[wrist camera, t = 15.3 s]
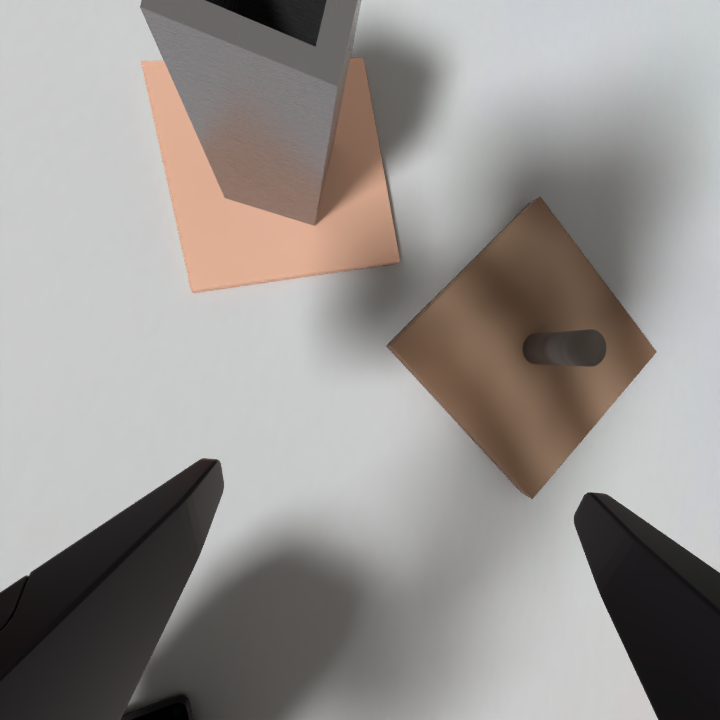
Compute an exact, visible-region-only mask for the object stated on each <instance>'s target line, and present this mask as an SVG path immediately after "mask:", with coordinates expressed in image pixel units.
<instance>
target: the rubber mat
mask: <svg viewBox="0 0 720 720" xmlns="http://www.w3.org/2000/svg"><path fill="white" fill-rule="evenodd" d="M141 63H142V68H143V72H144V77H145V82H146V86H147V91H148V95H149V100H150V105H151V109H152V114H153V118H154V123H155V127H156V132H157V137H158V141H159V146H160V150H161V155H162V160H163V164H164V169H165V173H166V178H167V183H168V187H169V192H170V196H171V201H172V205H173V210H174V215H175V219H176V224H177V228H178V233H179V238H180V242H181V247H182V251H183V256H184V261H185V265H186V270H187V274H188V279H189V283H190V288H191V291H192V292H193V293H197V292H204V291H211V290H218V289H225V288H232V287H238V286H245V285H252V284H259V283H266V282H273V281H280V280H286V279H293V278H300V277H307V276H314V275H321V274H328V273H334V272H341V271H348V270H355V269H362V268H369V267H376V266H382V265H389V264H396V263H398V262H400V258H399V253H398V247H397V241H396V236H395V230H394V225H393V219H392V214H391V208H390V203H389V197H388V191H387V186H386V180H385V175H384V169H383V164H382V158H381V152H380V147H379V141H378V136H377V130H376V125H375V119H374V114H373V108H372V102H371V97H370V91H369V86H368V80H367V75H366V69H365V64H364V58H350V62H349V67H348V72H347V77H346V82H345V88H344V93H343V98H342V103H341V109H340V114H339V119H338V124H337V129H336V135H335V140H334V145H333V149H332V153H331V158H330V162H329V166H328V170H327V175H326V179H325V183H324V188H323V192H322V196H321V201H320V205H319V209H318V213H317V218H316V222H315V226H313V225H310V224H307V223H304V222H300V221H297V220H294V219H291V218H287V217H284V216H281V215H278V214H274V213H271V212H268V211H265V210H262V209H258V208H255V207H252V206H249V205H245V204H242V203H239V202H236V201H232V200H229V199H226V198H224V195H223V193H222V191H221V189H220V186H219V184H218V182H217V180H216V177H215V175H214V173H213V170H212V168H211V166H210V164H209V161H208V159H207V157H206V155H205V152H204V150H203V148H202V146H201V143H200V141H199V139H198V137H197V134H196V132H195V130H194V128H193V125H192V123H191V121H190V119H189V116H188V114H187V112H186V109H185V107H184V105H183V103H182V100H181V98H180V96H179V94H178V91H177V89H176V87H175V85H174V82H173V80H172V78H171V76H170V73H169V71H168V69H167V67H166V64H165V62H164V61H141Z"/></svg>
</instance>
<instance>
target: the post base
mask: <svg viewBox="0 0 720 720" xmlns="http://www.w3.org/2000/svg"><path fill="white" fill-rule="evenodd" d="M387 347H388V348H389V349H390V350H391V352H392V353H393V354H394V355H395V356H396V357H397V358H398V359H399V360H400V361H401V362H402V363H403V365H404V366H405V367H406V368H407V369H408V370H409V371H410V372H411V373H412V374H413V375H414V376H415V378H416V379H417V380H418V381H419V382H420V383H421V384H422V385H423V386H424V387H425V388H426V389H427V391H428V392H429V393H430V394H431V395H432V396H433V397H434V398H435V399H436V400H437V401H438V402H439V404H440V405H441V406H442V407H443V408H444V409H445V410H446V411H447V412H448V413H449V414H450V415H451V417H452V418H453V419H454V420H455V421H456V422H457V423H458V424H459V425H460V426H461V427H462V428H463V430H464V431H465V432H466V433H467V434H468V435H469V436H470V437H471V438H472V439H473V440H474V441H475V443H476V444H477V445H478V446H479V447H480V448H481V449H482V450H483V451H484V452H485V453H486V454H487V456H488V457H489V458H490V459H491V460H492V461H493V462H494V463H495V464H496V465H497V466H498V467H499V469H500V470H501V471H502V472H503V473H504V474H505V475H506V476H507V477H508V478H509V479H510V480H511V482H512V483H513V484H514V485H515V486H516V487H517V488H518V489H519V490H520V491H521V492H522V493H523V494H525V495H526V496H528V497H530V498H531V499H533V498H534V497H535V495H536V494H537V493H538V492H539V491H540V489H541V488H542V487H543V486H544V485H545V484H546V482H547V481H548V480H549V479H550V478H551V476H552V475H553V474H554V473H555V472H556V471H557V469H558V468H559V467H560V466H561V465H562V463H563V462H564V461H565V460H566V459H567V457H568V456H569V455H570V454H571V453H572V452H573V450H574V449H575V448H576V447H577V446H578V444H579V443H580V442H581V441H582V440H583V439H584V437H585V436H586V435H587V434H588V433H589V431H590V430H591V429H592V428H593V427H594V426H595V424H596V423H597V422H598V421H599V420H600V418H601V417H602V416H603V415H604V414H605V412H606V411H607V410H608V409H609V408H610V407H611V405H612V404H613V403H614V402H615V401H616V399H617V398H618V397H619V396H620V395H621V394H622V392H623V391H624V390H625V389H626V388H627V386H628V385H629V384H630V383H631V382H632V380H633V379H634V378H635V377H636V376H637V375H638V373H639V372H640V371H641V370H642V369H643V367H644V366H645V365H646V364H647V363H648V362H649V360H650V359H651V358H652V357H653V356H654V354H655V353H656V350H655V349H654V348H653V346H652V345H651V344H650V342H649V341H648V340H647V338H646V337H645V336H644V334H643V333H642V332H641V330H640V329H639V328H638V326H637V325H636V324H635V322H634V321H633V320H632V318H631V317H630V316H629V314H628V313H627V312H626V310H625V309H624V308H623V306H622V305H621V304H620V302H619V301H618V300H617V298H616V297H615V296H614V294H613V293H612V292H611V290H610V289H609V288H608V286H607V285H606V284H605V282H604V281H603V280H602V278H601V277H600V276H599V274H598V273H597V272H596V270H595V269H594V268H593V266H592V265H591V264H590V262H589V261H588V260H587V258H586V257H585V256H584V254H583V253H582V252H581V250H580V249H579V248H578V246H577V245H576V244H575V242H574V241H573V240H572V238H571V237H570V236H569V234H568V233H567V232H566V230H565V229H564V228H563V226H562V225H561V224H560V222H559V221H558V220H557V218H556V217H555V216H554V214H553V213H552V212H551V210H550V209H549V208H548V206H547V205H546V204H545V202H544V201H543V200H542V198H541V197H539V198H537V199H536V200H534V201H533V202H531V203H530V204H528V205H527V206H526V207H525V208H524V209H523V210H522V211H521V212H520V213H519V214H518V215H517V216H516V217H515V218H514V219H513V220H512V221H511V222H510V223H509V224H508V225H507V226H506V227H505V228H504V229H503V230H502V231H501V232H500V233H499V234H498V235H497V236H496V237H495V238H494V239H493V240H492V241H491V242H490V243H489V244H488V245H487V246H486V247H485V248H484V249H483V250H482V251H481V252H480V253H479V254H478V255H477V256H476V257H475V258H474V259H473V260H472V261H471V262H470V263H469V264H468V265H467V266H466V267H465V268H464V269H463V270H462V271H461V272H460V273H459V274H458V275H457V276H456V277H455V278H454V279H453V280H452V281H451V282H450V283H449V284H448V285H447V286H446V287H445V288H444V289H443V290H442V291H441V292H440V293H439V294H438V295H437V296H436V297H435V298H434V299H433V300H432V301H431V302H430V303H429V304H428V305H427V306H426V307H425V308H424V309H423V310H422V311H421V312H420V313H419V314H418V315H417V316H416V317H415V318H414V319H413V320H412V321H411V322H410V323H409V324H408V325H407V326H406V327H405V328H404V329H403V330H402V331H401V332H400V333H399V334H398V335H397V336H396V337H395V338H394V339H393V340H392V341H391V342H390V343H389V344H388V345H387Z"/></svg>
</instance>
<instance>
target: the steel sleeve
mask: <svg viewBox="0 0 720 720" xmlns="http://www.w3.org/2000/svg"><path fill="white" fill-rule="evenodd" d="M360 4H361V0H142V2H141V6H140V8H141V10H142V12H143V15H144V17H145V19H146V21H147V24H148V26H149V28H150V30H151V33H152V35H153V37H154V39H155V42H156V44H157V46H158V48H159V51H160V53H161V55H162V57H163V60H164V62H165V64H166V67H167V69H168V71H169V73H170V76H171V78H172V80H173V82H174V85H175V87H176V89H177V91H178V94H179V96H180V98H181V100H182V103H183V105H184V107H185V109H186V112H187V114H188V116H189V119H190V121H191V123H192V125H193V128H194V130H195V132H196V134H197V137H198V139H199V141H200V143H201V146H202V148H203V150H204V152H205V155H206V157H207V159H208V161H209V164H210V166H211V168H212V170H213V173H214V175H215V177H216V180H217V182H218V184H219V186H220V189H221V191H222V193H223V195H224V198H226V199H229V200H232V201H236V202H239V203H242V204H245V205H249V206H252V207H255V208H258V209H262V210H265V211H268V212H271V213H274V214H278V215H281V216H284V217H287V218H291V219H294V220H297V221H300V222H304V223H307V224H310V225H313V226H315V222H316V218H317V213H318V209H319V205H320V201H321V196H322V192H323V188H324V183H325V179H326V175H327V170H328V166H329V162H330V158H331V153H332V149H333V145H334V140H335V135H336V129H337V124H338V119H339V114H340V109H341V103H342V98H343V93H344V88H345V82H346V77H347V72H348V67H349V62H350V56H351V51H352V46H353V41H354V36H355V30H356V25H357V20H358V15H359V9H360Z"/></svg>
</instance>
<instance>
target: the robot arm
mask: <svg viewBox="0 0 720 720" xmlns="http://www.w3.org/2000/svg"><path fill="white" fill-rule="evenodd" d="M223 489H224V480H223V474H222V468H221V463H220V461H219V460H217V459H207V458H203V459H200V460H199V461H197V462H196V463H194V464H193V465H191V466H190V467H188V468H187V469H185V470H184V471H182V472H181V473H179V474H178V475H176V476H175V477H173V478H172V479H170V480H169V481H167V482H166V483H164V484H163V485H161V486H160V487H158V488H157V489H155V490H154V491H152V492H151V493H149V494H148V495H146V496H145V497H143V498H142V499H140V500H138V501H137V502H135V503H134V504H132V505H131V506H129V507H128V508H126V509H125V510H123V511H122V512H120V513H119V514H117V515H116V516H114V517H113V518H111V519H110V520H108V521H107V522H105V523H104V524H102V525H101V526H99V527H98V528H96V529H95V530H93V531H92V532H90V533H89V534H87V535H86V536H84V537H83V538H81V539H80V540H78V541H77V542H75V543H74V544H72V545H71V546H69V547H68V548H66V549H65V550H63V551H62V552H60V553H59V554H57V555H56V556H54V557H53V558H51V559H50V560H48V561H47V562H45V563H44V564H42V565H41V566H39V567H38V568H36V569H35V570H33V571H32V572H31V573H30V575H29V576H24V577H23V578H21V579H20V580H18V581H17V582H15V583H14V584H12V585H11V586H9V587H8V588H6V589H5V590H3V591H2V592H0V720H193V716H192V712H191V708H190V704H189V700H188V698H187V697H186V696H184V695H178V696H175V697H172V698H170V699H167V700H164V701H161V702H159V703H156V704H153V705H151V706H148V707H145V708H142V709H140V710H137V711H134V712H132V713H129V714H126V715H123V713H124V711H125V709H126V707H127V705H128V703H129V701H130V699H131V697H132V695H133V693H134V691H135V689H136V686H137V684H138V682H139V680H140V678H141V676H142V674H143V672H144V670H145V668H146V666H147V664H148V662H149V660H150V657H151V655H152V653H153V651H154V649H155V647H156V645H157V643H158V641H159V639H160V637H161V635H162V633H163V631H164V629H165V626H166V624H167V622H168V620H169V618H170V616H171V614H172V612H173V610H174V608H175V606H176V604H177V602H178V600H179V597H180V595H181V593H182V591H183V589H184V587H185V585H186V583H187V581H188V579H189V577H190V575H191V573H192V571H193V568H194V566H195V564H196V562H197V560H198V558H199V555H200V553H201V550H202V548H203V545H204V543H205V540H206V537H207V534H208V532H209V529H210V526H211V523H212V521H213V518H214V515H215V513H216V510H217V507H218V504H219V502H220V499H221V496H222V493H223ZM574 524H575V528H576V530H577V533H578V536H579V539H580V541H581V544H582V547H583V550H584V552H585V555H586V558H587V561H588V563H589V566H590V569H591V572H592V574H593V577H594V580H595V583H596V585H597V588H598V590H599V593H600V595H601V597H602V600H603V602H604V604H605V606H606V609H607V611H608V613H609V615H610V617H611V619H612V621H613V624H614V626H615V628H616V630H617V632H618V634H619V636H620V639H621V641H622V643H623V645H624V647H625V649H626V652H627V654H628V656H629V658H630V660H631V662H632V664H633V667H634V669H635V671H636V673H637V675H638V677H639V679H640V682H641V684H642V686H643V688H644V690H645V692H646V694H647V697H648V699H649V701H650V703H651V705H652V707H653V710H654V712H655V714H656V716H657V718H658V720H720V573H719V572H718V571H716V570H715V569H713V568H712V567H711V566H709V565H708V564H706V563H705V562H703V561H702V560H700V559H699V558H698V557H696V556H695V555H693V554H692V553H690V552H689V551H688V550H686V549H685V548H683V547H682V546H680V545H679V544H678V543H676V542H675V541H673V540H672V539H670V538H669V537H667V536H666V535H665V534H663V533H662V532H660V531H659V530H657V529H656V528H655V527H653V526H652V525H650V524H649V523H647V522H646V521H645V520H643V519H642V518H640V517H639V516H637V515H636V514H634V513H633V512H632V511H630V510H629V509H627V508H626V507H624V506H623V505H622V504H620V503H619V502H617V501H616V500H614V499H613V498H612V497H610V496H608V495H606V494H603V493H591V492H590V493H587V494H585V495H584V497H583V499H582V501H581V503H580V505H579V507H578V509H577V511H576V512H575V515H574ZM175 707H180V708H179V709H177V708H175ZM122 715H123V716H122Z"/></svg>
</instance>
